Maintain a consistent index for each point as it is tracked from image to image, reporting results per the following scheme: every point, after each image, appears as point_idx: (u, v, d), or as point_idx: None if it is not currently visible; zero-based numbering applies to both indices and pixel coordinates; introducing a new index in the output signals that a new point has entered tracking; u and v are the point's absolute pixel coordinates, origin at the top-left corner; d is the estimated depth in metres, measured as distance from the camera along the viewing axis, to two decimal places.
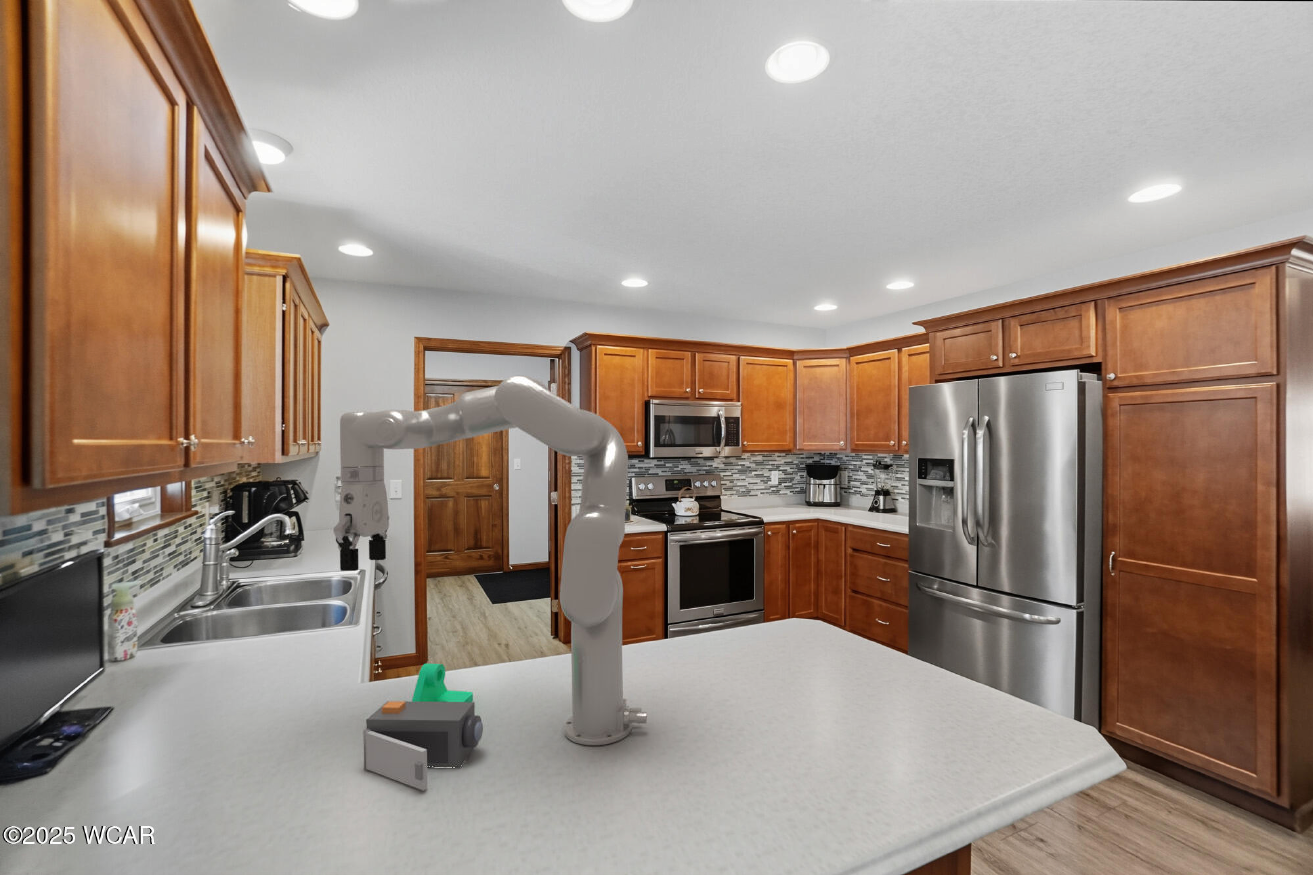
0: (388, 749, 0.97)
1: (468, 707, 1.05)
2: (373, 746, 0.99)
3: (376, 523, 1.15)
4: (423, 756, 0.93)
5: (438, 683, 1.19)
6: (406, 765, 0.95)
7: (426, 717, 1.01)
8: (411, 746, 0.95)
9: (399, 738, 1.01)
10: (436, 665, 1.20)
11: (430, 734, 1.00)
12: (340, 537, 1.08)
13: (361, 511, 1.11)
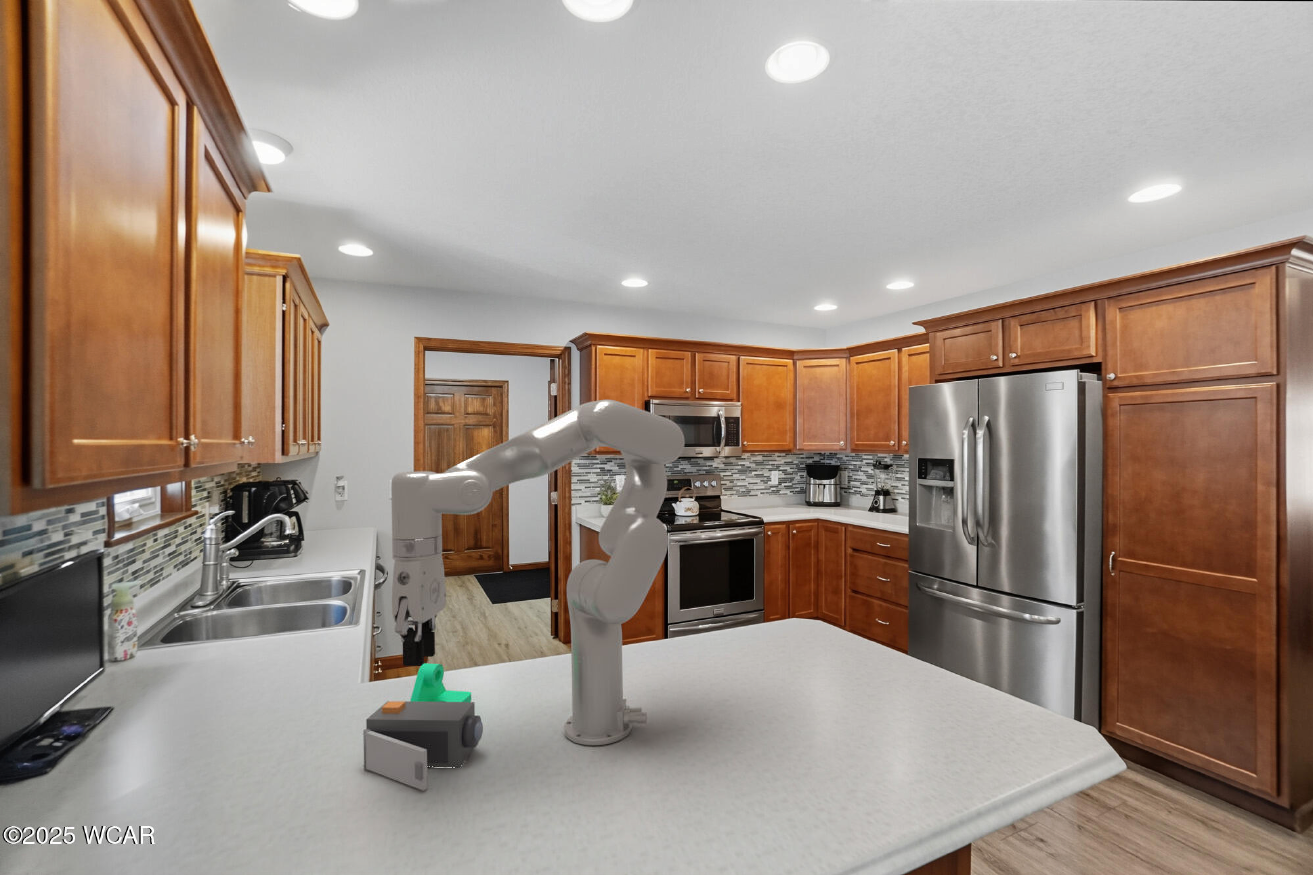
0: (388, 749, 0.97)
1: (468, 707, 1.05)
2: (373, 746, 0.99)
3: (434, 604, 0.97)
4: (423, 756, 0.93)
5: (436, 683, 1.19)
6: (406, 765, 0.95)
7: (426, 717, 1.01)
8: (411, 746, 0.95)
9: (399, 738, 1.01)
10: (434, 665, 1.20)
11: (430, 734, 1.00)
12: (404, 634, 0.92)
13: (419, 593, 0.93)
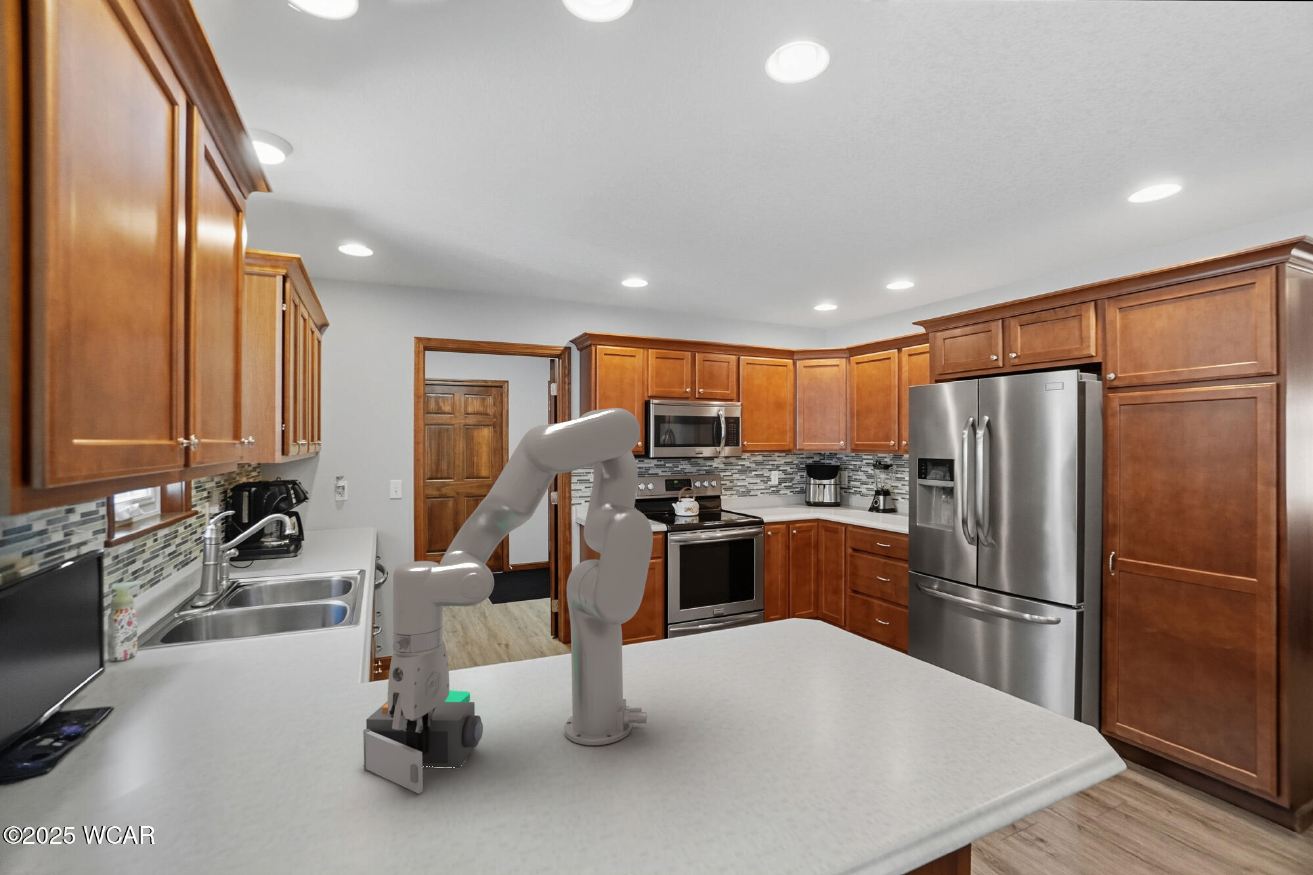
0: (386, 750, 0.97)
1: (468, 707, 1.05)
2: (372, 746, 0.99)
3: (431, 698, 0.96)
4: (418, 758, 0.93)
5: None
6: (402, 767, 0.94)
7: None
8: (407, 748, 0.94)
9: (399, 738, 1.01)
10: None
11: (430, 734, 1.00)
12: None
13: (411, 691, 0.92)
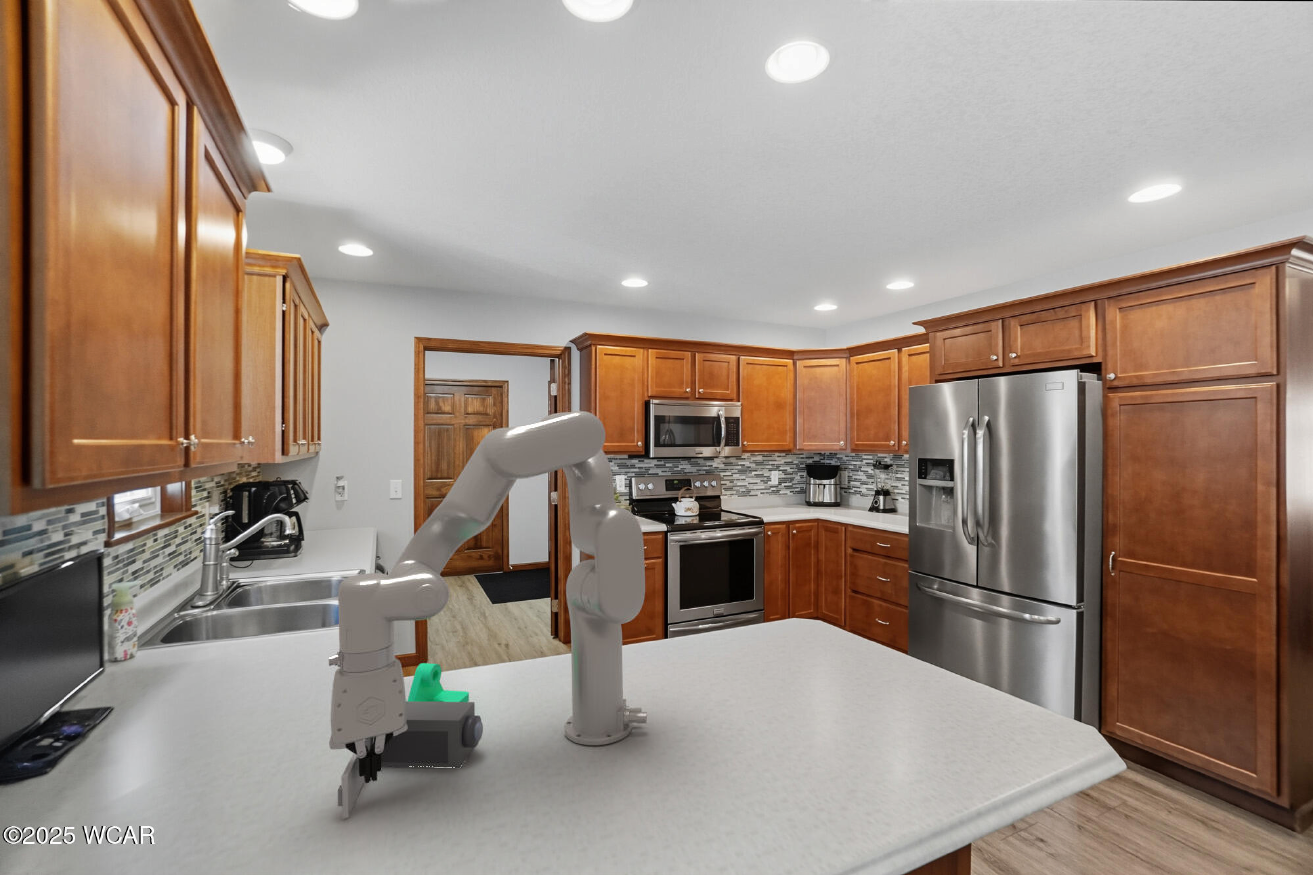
0: None
1: (468, 707, 1.05)
2: None
3: (368, 725, 0.89)
4: (343, 781, 0.87)
5: (434, 682, 1.19)
6: None
7: (426, 717, 1.01)
8: (349, 765, 0.90)
9: (399, 738, 1.01)
10: (432, 665, 1.20)
11: (430, 734, 1.00)
12: None
13: (334, 712, 0.87)
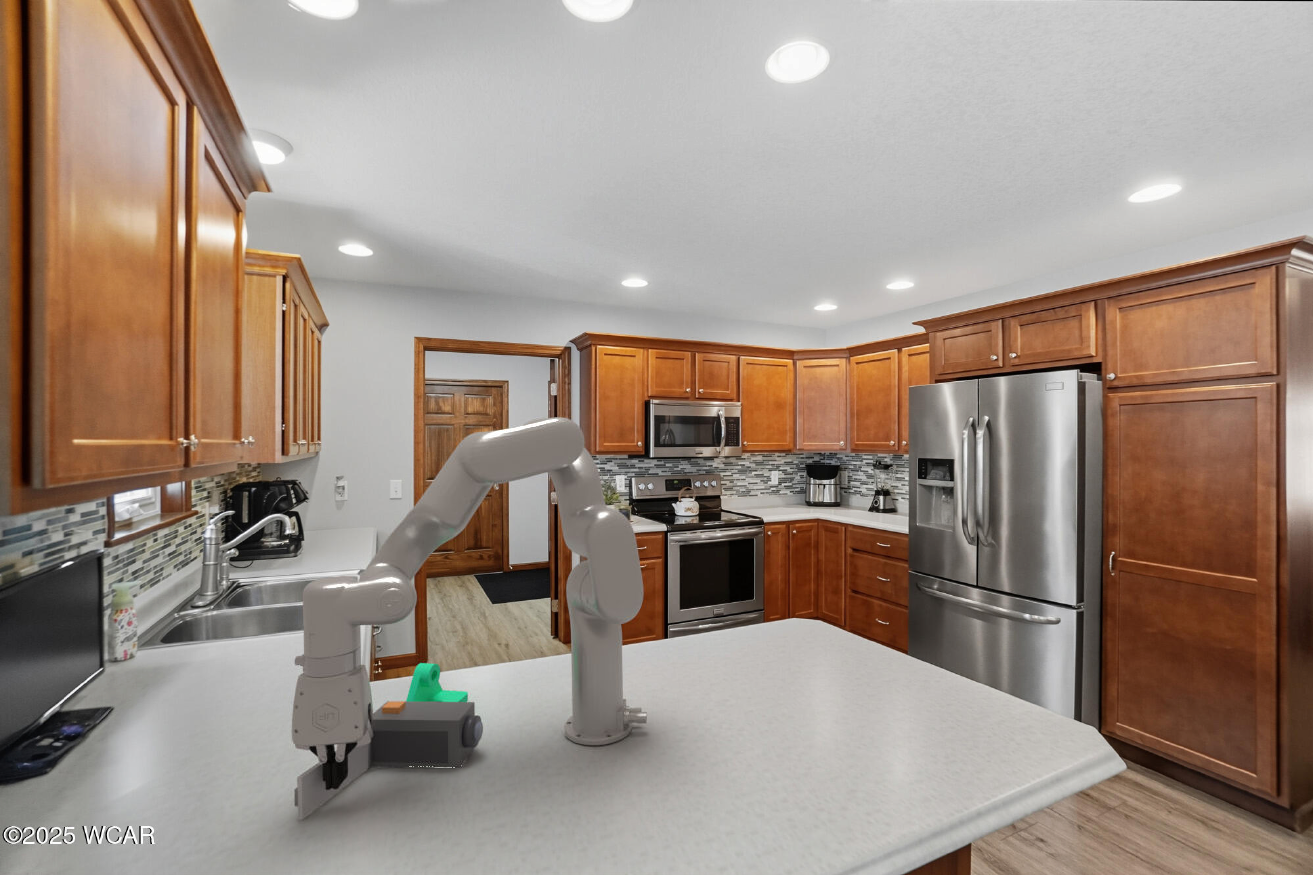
0: None
1: (468, 707, 1.05)
2: None
3: (323, 731, 0.87)
4: (298, 782, 0.87)
5: (432, 682, 1.20)
6: None
7: (426, 717, 1.01)
8: (315, 766, 0.90)
9: (399, 738, 1.01)
10: (430, 664, 1.20)
11: (430, 734, 1.00)
12: (308, 748, 0.89)
13: (293, 713, 0.87)
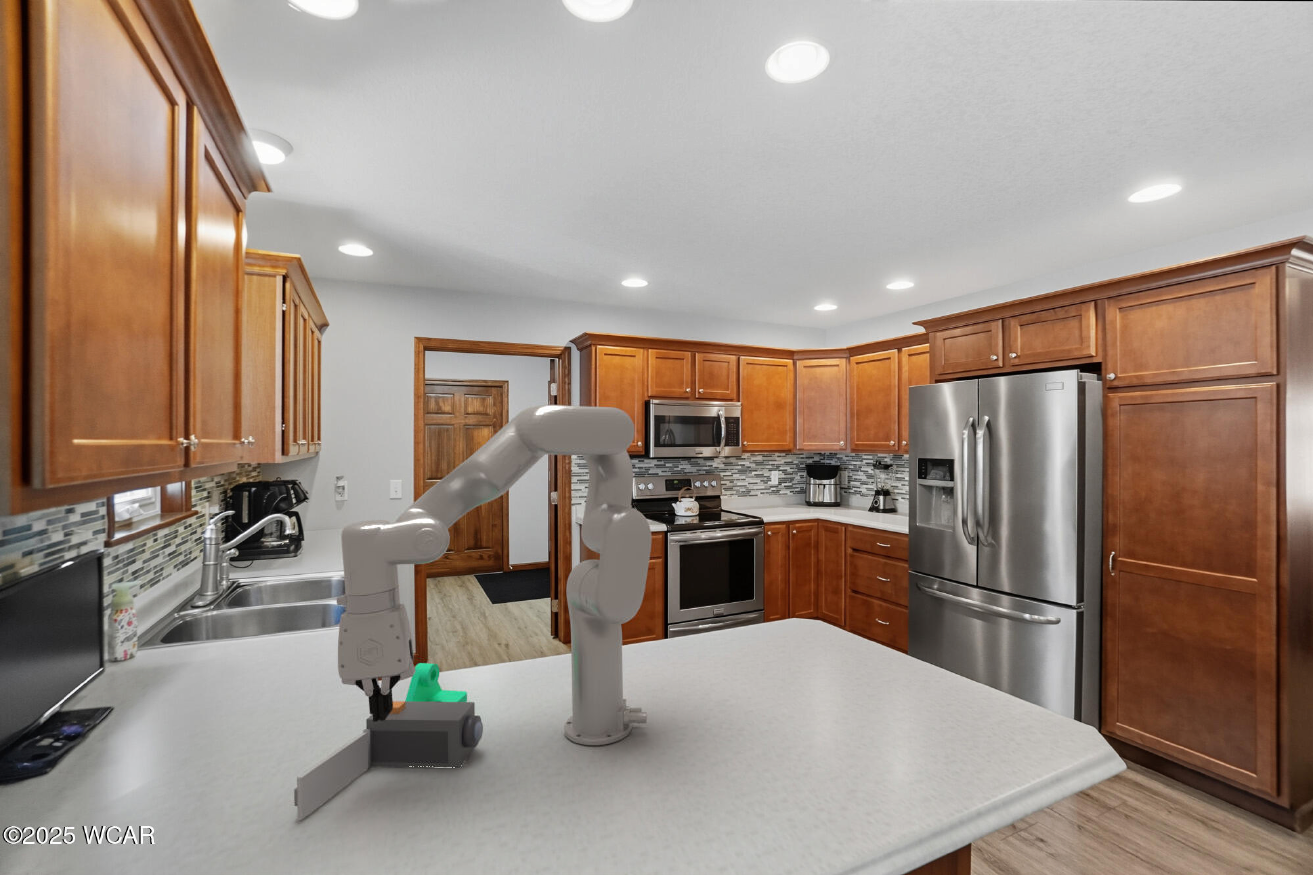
0: None
1: (468, 707, 1.05)
2: None
3: (368, 666, 0.91)
4: (298, 782, 0.87)
5: (432, 682, 1.20)
6: None
7: (426, 717, 1.01)
8: (315, 766, 0.90)
9: (399, 738, 1.01)
10: (430, 664, 1.20)
11: (430, 734, 1.00)
12: None
13: (338, 649, 0.91)
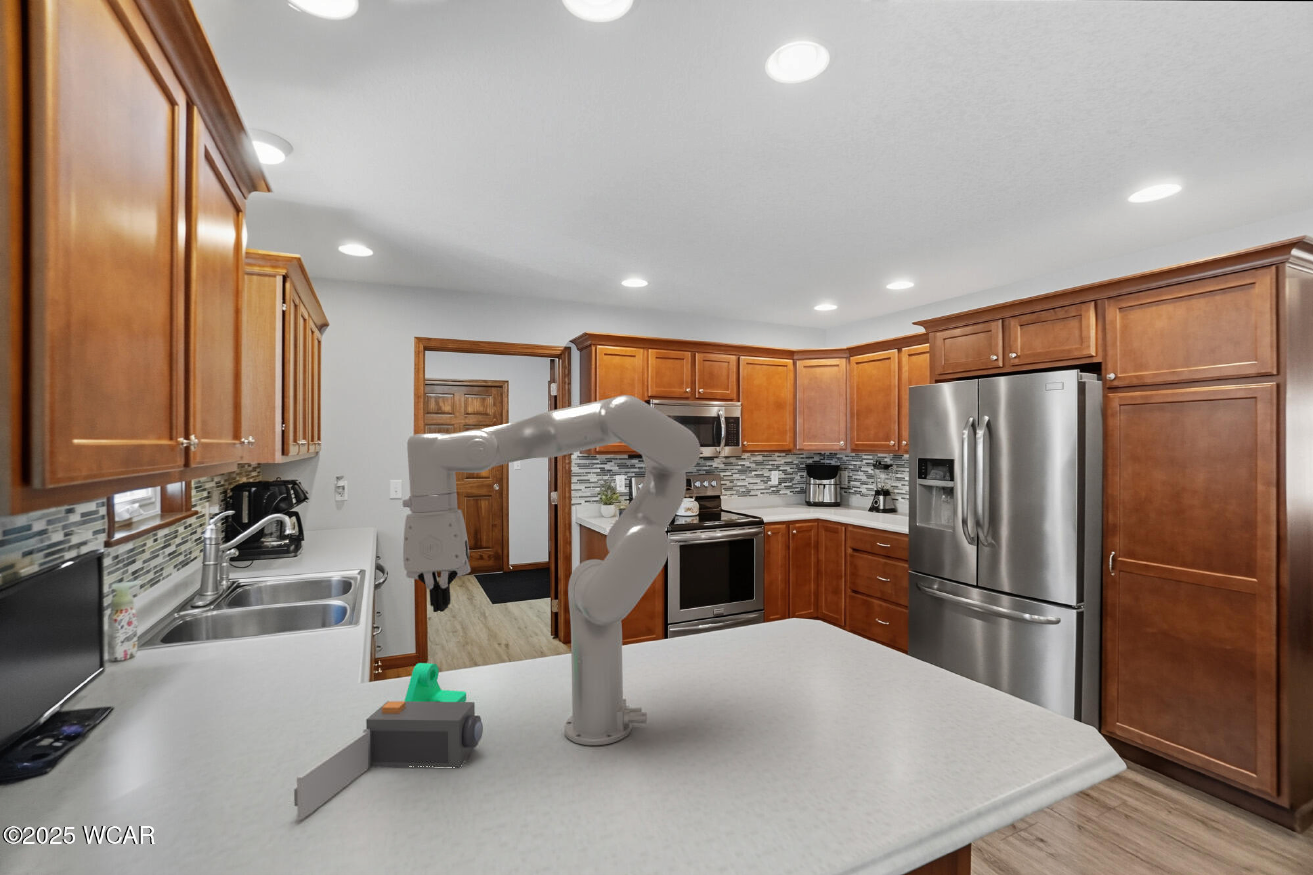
0: None
1: (468, 707, 1.05)
2: None
3: (429, 560, 1.01)
4: (298, 782, 0.87)
5: (431, 682, 1.20)
6: None
7: (426, 717, 1.01)
8: (315, 766, 0.90)
9: (399, 738, 1.01)
10: (429, 664, 1.20)
11: (430, 734, 1.00)
12: (417, 578, 1.04)
13: (404, 544, 1.02)
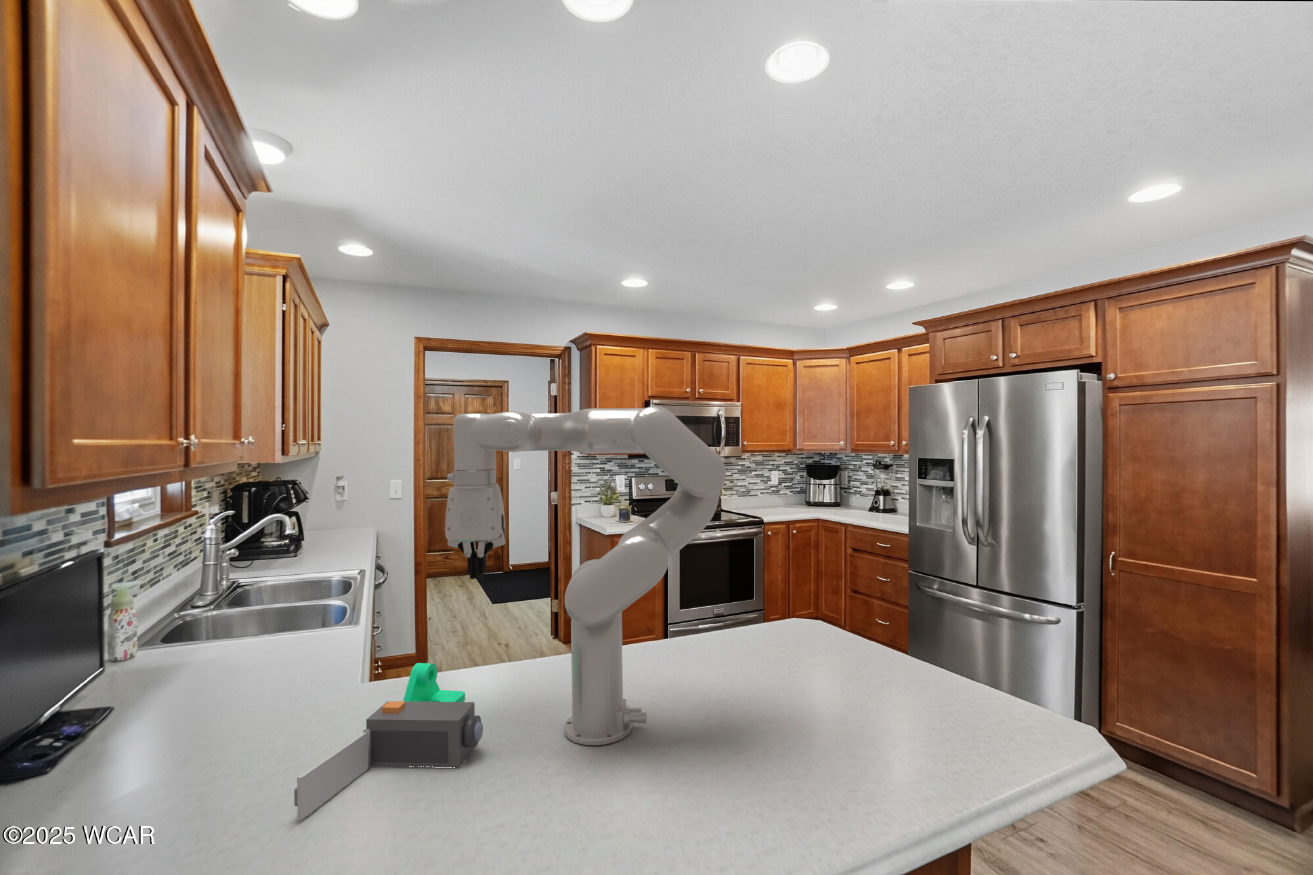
0: None
1: (468, 707, 1.05)
2: None
3: (468, 530, 1.09)
4: (298, 782, 0.87)
5: (430, 682, 1.20)
6: None
7: (426, 717, 1.01)
8: (315, 766, 0.90)
9: (399, 738, 1.01)
10: (428, 664, 1.20)
11: (430, 734, 1.00)
12: None
13: (446, 514, 1.10)
